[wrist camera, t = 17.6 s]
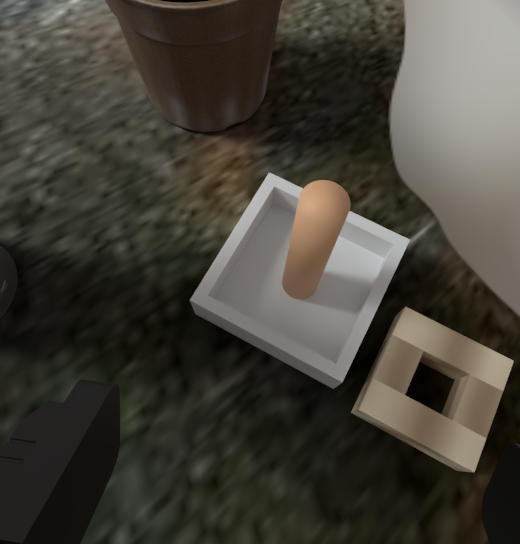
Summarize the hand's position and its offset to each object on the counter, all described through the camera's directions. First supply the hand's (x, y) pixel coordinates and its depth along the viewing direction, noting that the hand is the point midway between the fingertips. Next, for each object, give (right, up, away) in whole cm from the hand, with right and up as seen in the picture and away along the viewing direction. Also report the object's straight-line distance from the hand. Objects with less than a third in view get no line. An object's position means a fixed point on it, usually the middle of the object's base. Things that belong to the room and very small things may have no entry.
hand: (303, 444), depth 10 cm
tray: (+2, +2, +32) cm, 32 cm away
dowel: (+2, +3, +31) cm, 31 cm away
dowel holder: (+12, -6, +29) cm, 32 cm away
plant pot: (-6, +23, +40) cm, 46 cm away
